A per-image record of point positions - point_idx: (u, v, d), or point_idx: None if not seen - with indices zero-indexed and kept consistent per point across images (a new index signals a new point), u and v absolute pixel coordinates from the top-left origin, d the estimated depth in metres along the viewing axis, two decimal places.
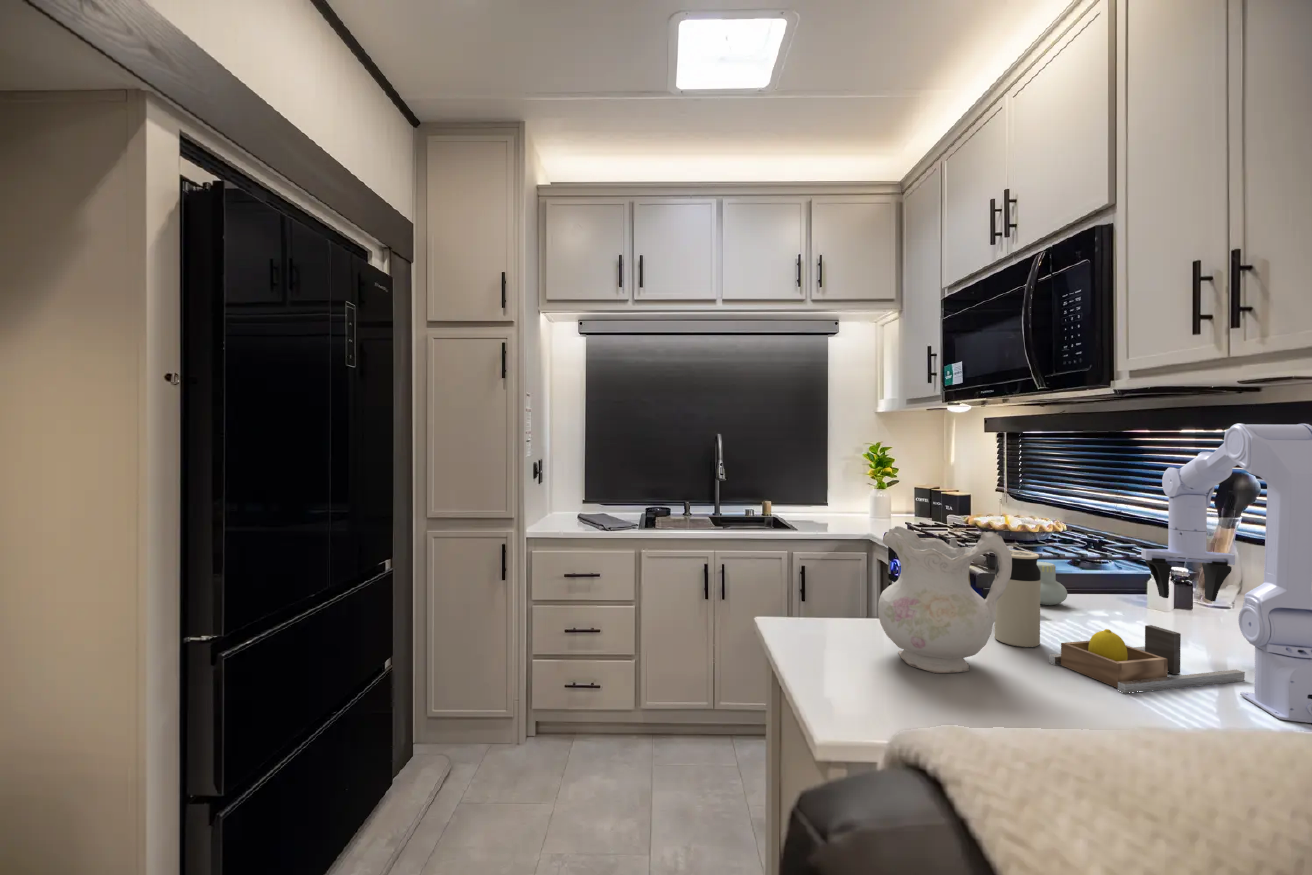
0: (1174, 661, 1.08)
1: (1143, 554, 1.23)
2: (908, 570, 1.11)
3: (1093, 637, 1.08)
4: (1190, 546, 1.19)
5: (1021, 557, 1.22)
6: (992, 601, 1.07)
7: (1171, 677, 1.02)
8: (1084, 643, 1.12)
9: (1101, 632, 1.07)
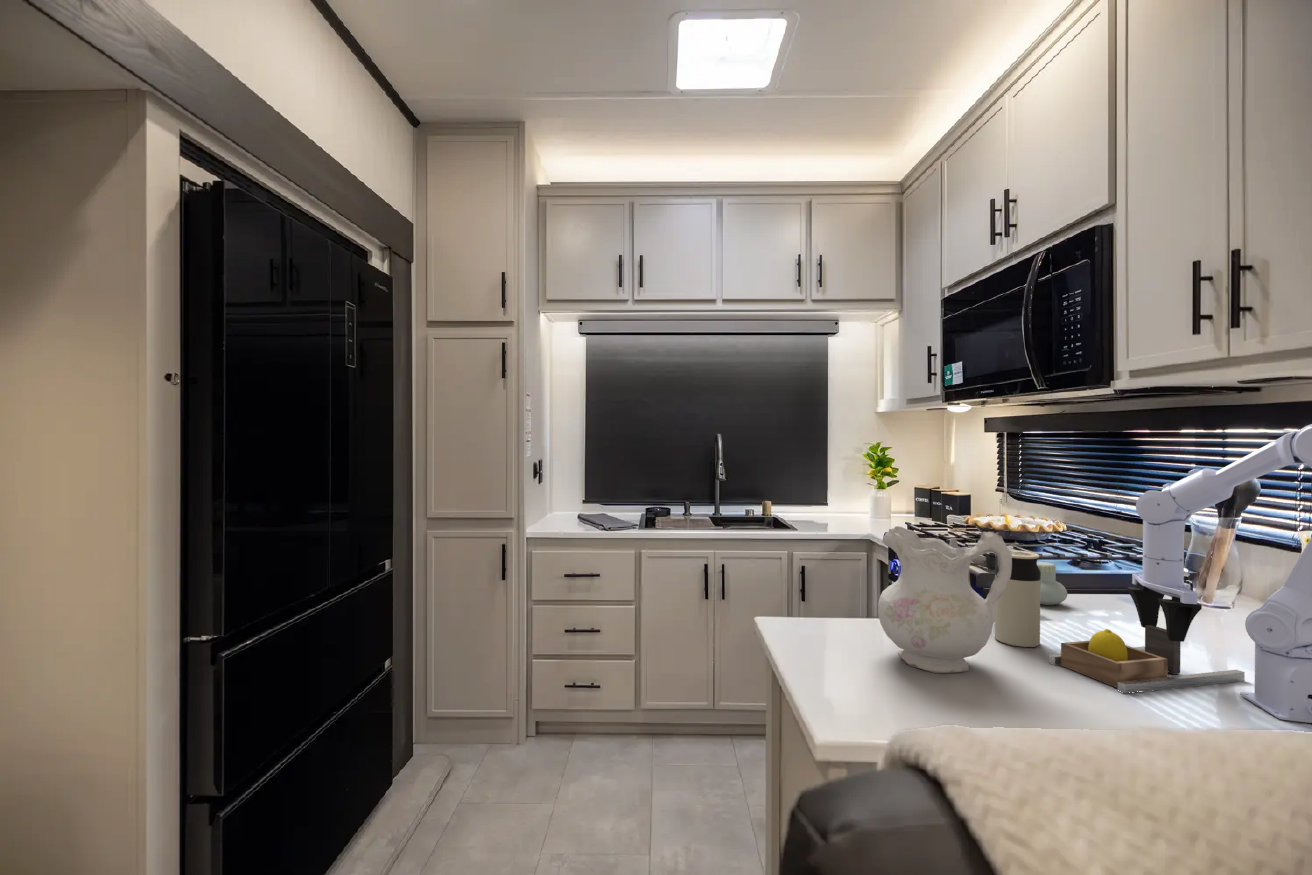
0: (1174, 661, 1.08)
1: None
2: (908, 570, 1.11)
3: (1093, 637, 1.08)
4: (1143, 572, 1.11)
5: (1021, 557, 1.22)
6: (992, 601, 1.07)
7: (1171, 677, 1.02)
8: (1084, 643, 1.12)
9: (1101, 632, 1.07)
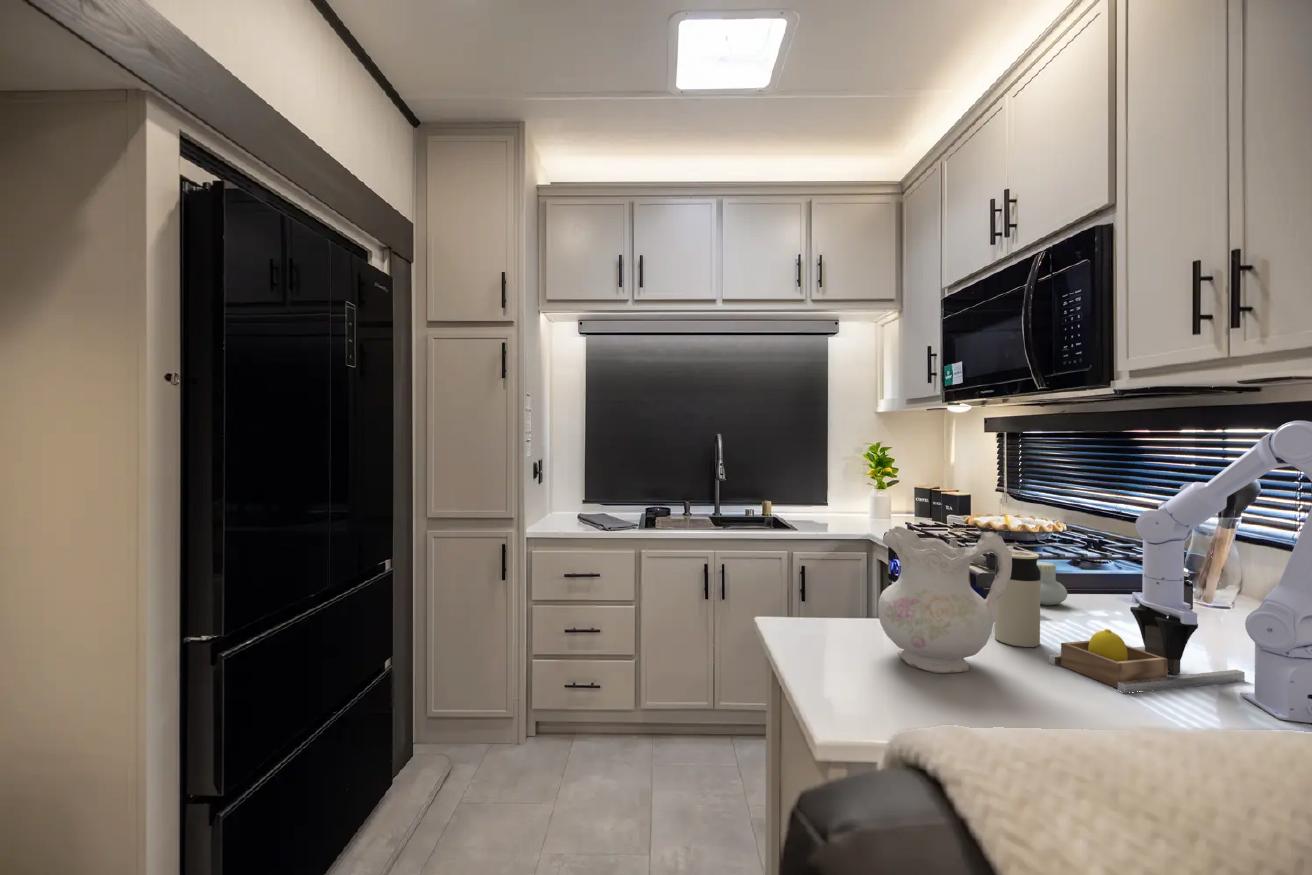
0: (1174, 661, 1.08)
1: None
2: (908, 570, 1.11)
3: (1093, 637, 1.08)
4: (1143, 592, 1.11)
5: (1021, 557, 1.22)
6: (992, 601, 1.07)
7: (1171, 677, 1.02)
8: (1084, 643, 1.12)
9: (1101, 632, 1.07)
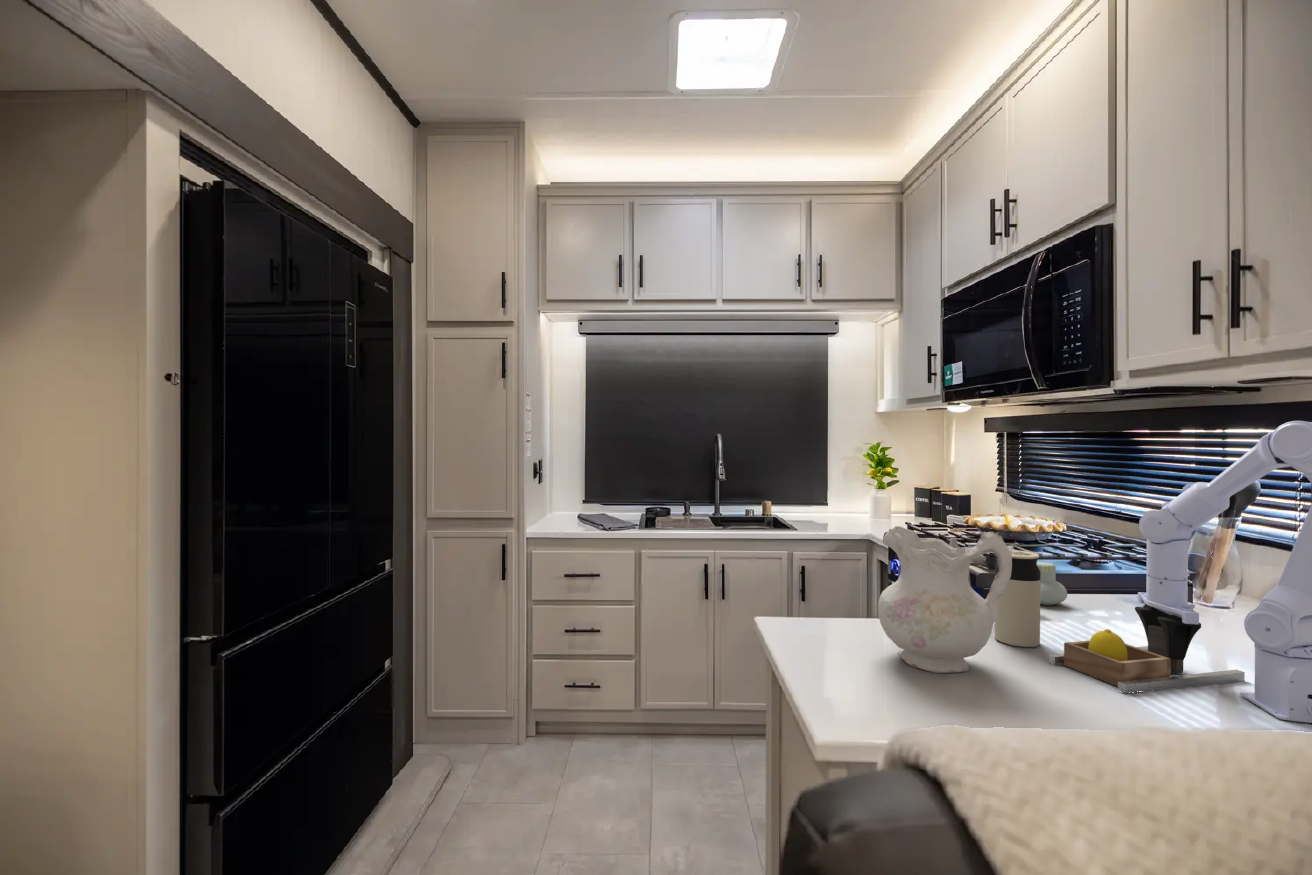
0: (1177, 661, 1.08)
1: None
2: (908, 570, 1.11)
3: (1093, 637, 1.08)
4: (1146, 591, 1.12)
5: (1021, 557, 1.22)
6: (992, 601, 1.07)
7: (1171, 677, 1.02)
8: (1087, 643, 1.12)
9: (1101, 632, 1.07)
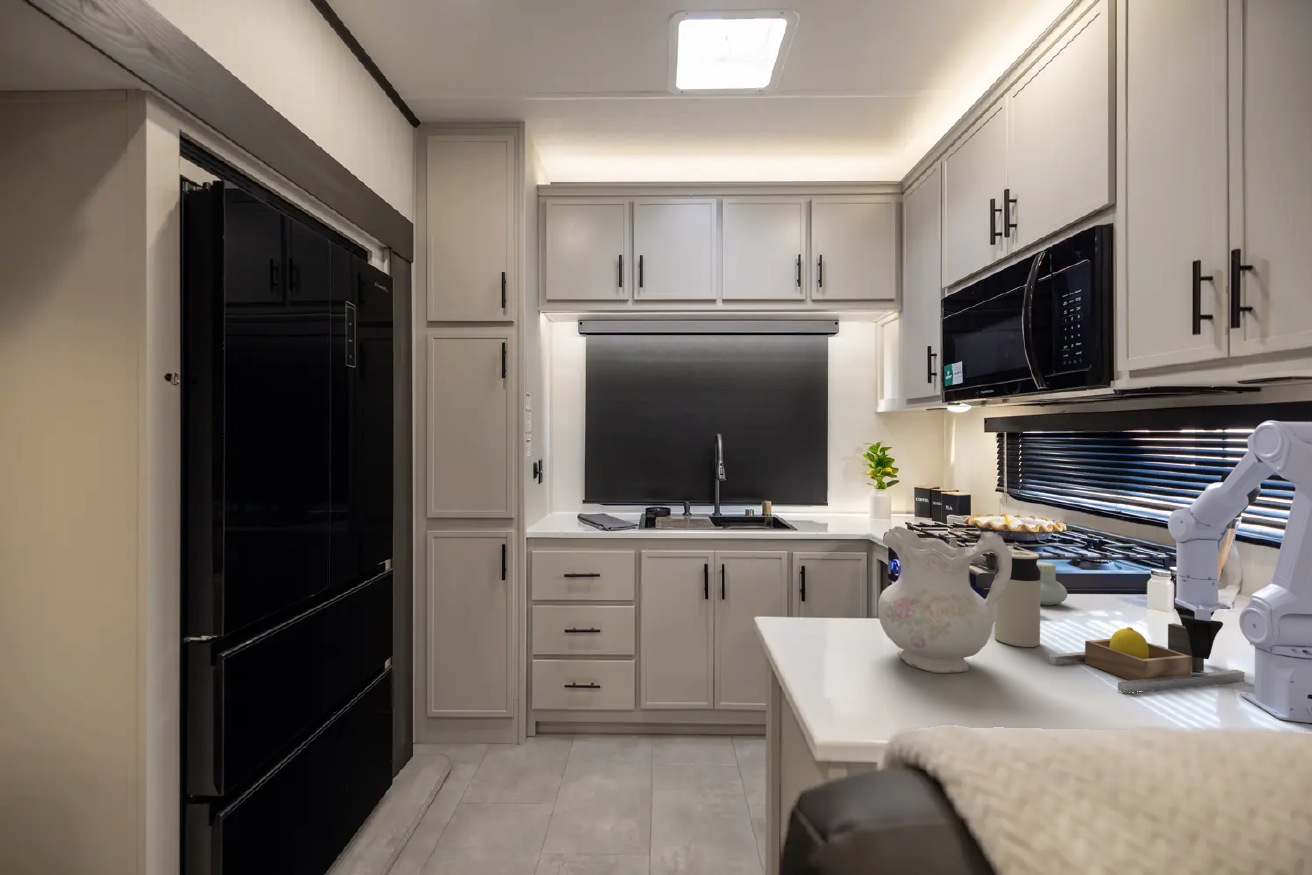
0: (1197, 659, 1.09)
1: None
2: (908, 570, 1.11)
3: (1115, 634, 1.09)
4: None
5: (1021, 557, 1.22)
6: (992, 601, 1.07)
7: (1171, 677, 1.02)
8: (1108, 641, 1.13)
9: (1123, 630, 1.09)
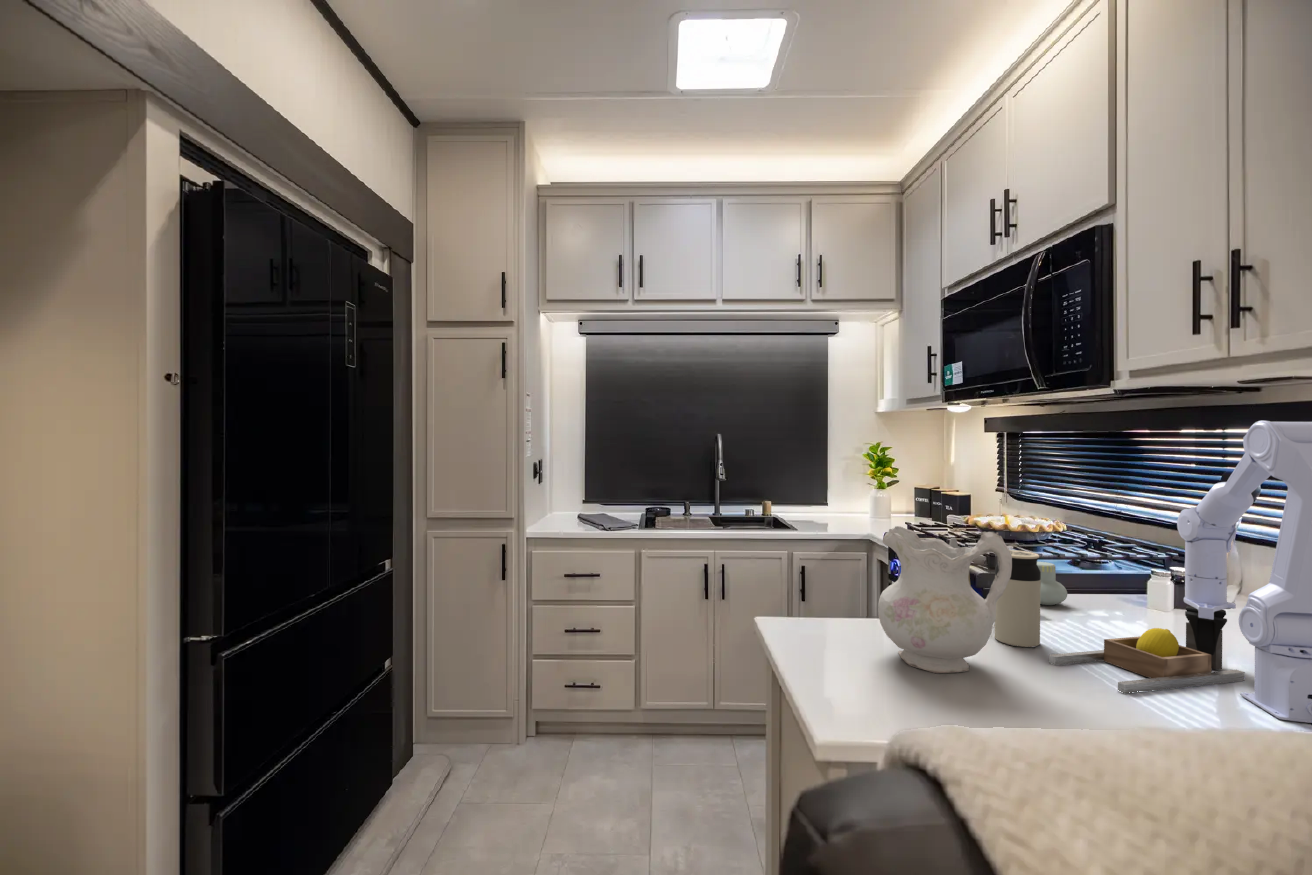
0: (1216, 657, 1.10)
1: None
2: (908, 570, 1.11)
3: None
4: None
5: (1021, 557, 1.22)
6: (992, 601, 1.07)
7: (1171, 677, 1.02)
8: (1126, 639, 1.14)
9: None
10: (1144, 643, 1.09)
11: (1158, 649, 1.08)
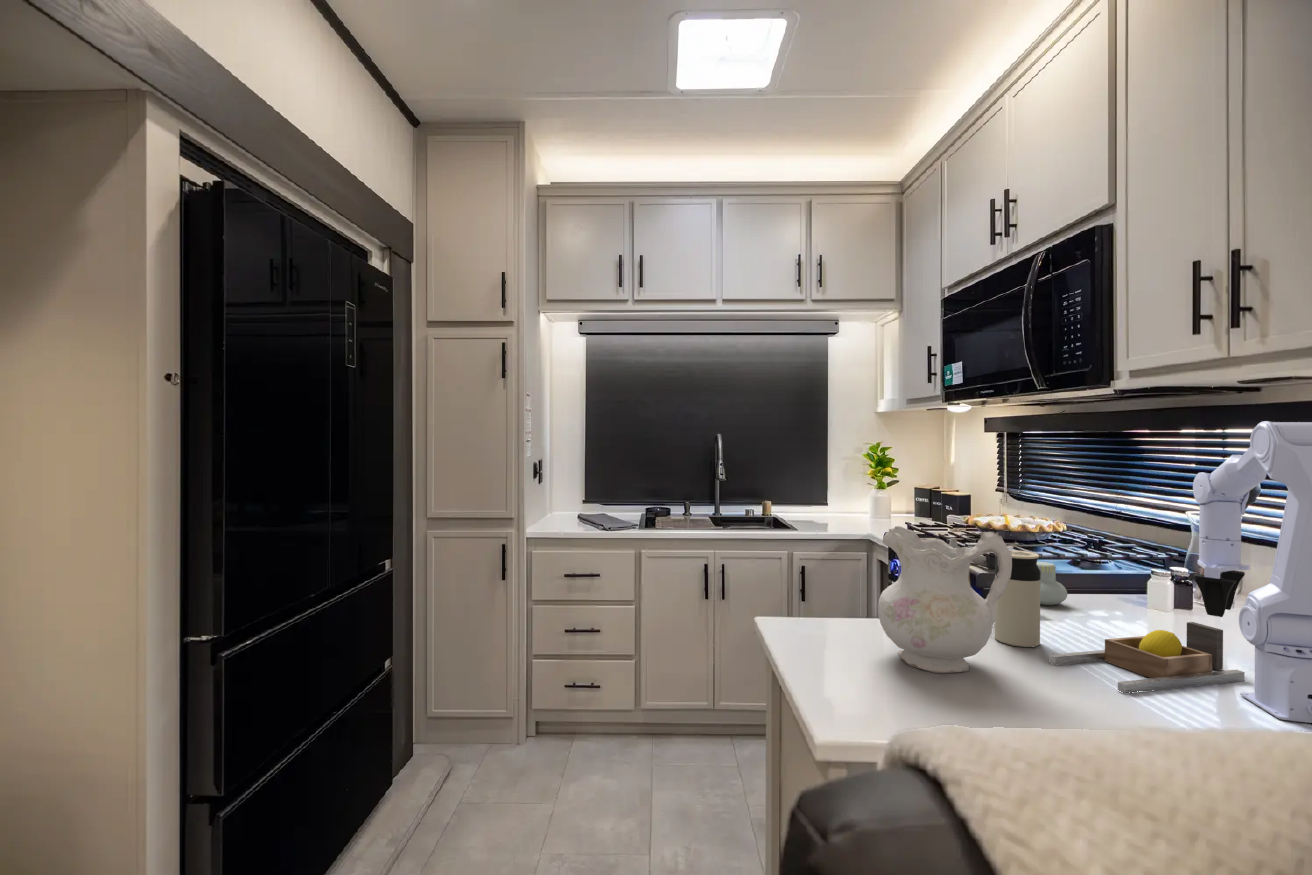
0: (1216, 657, 1.10)
1: None
2: (908, 570, 1.11)
3: (1156, 630, 1.11)
4: None
5: (1021, 557, 1.22)
6: (992, 601, 1.07)
7: (1171, 677, 1.02)
8: (1127, 639, 1.14)
9: None
10: (1148, 642, 1.10)
11: (1161, 648, 1.08)
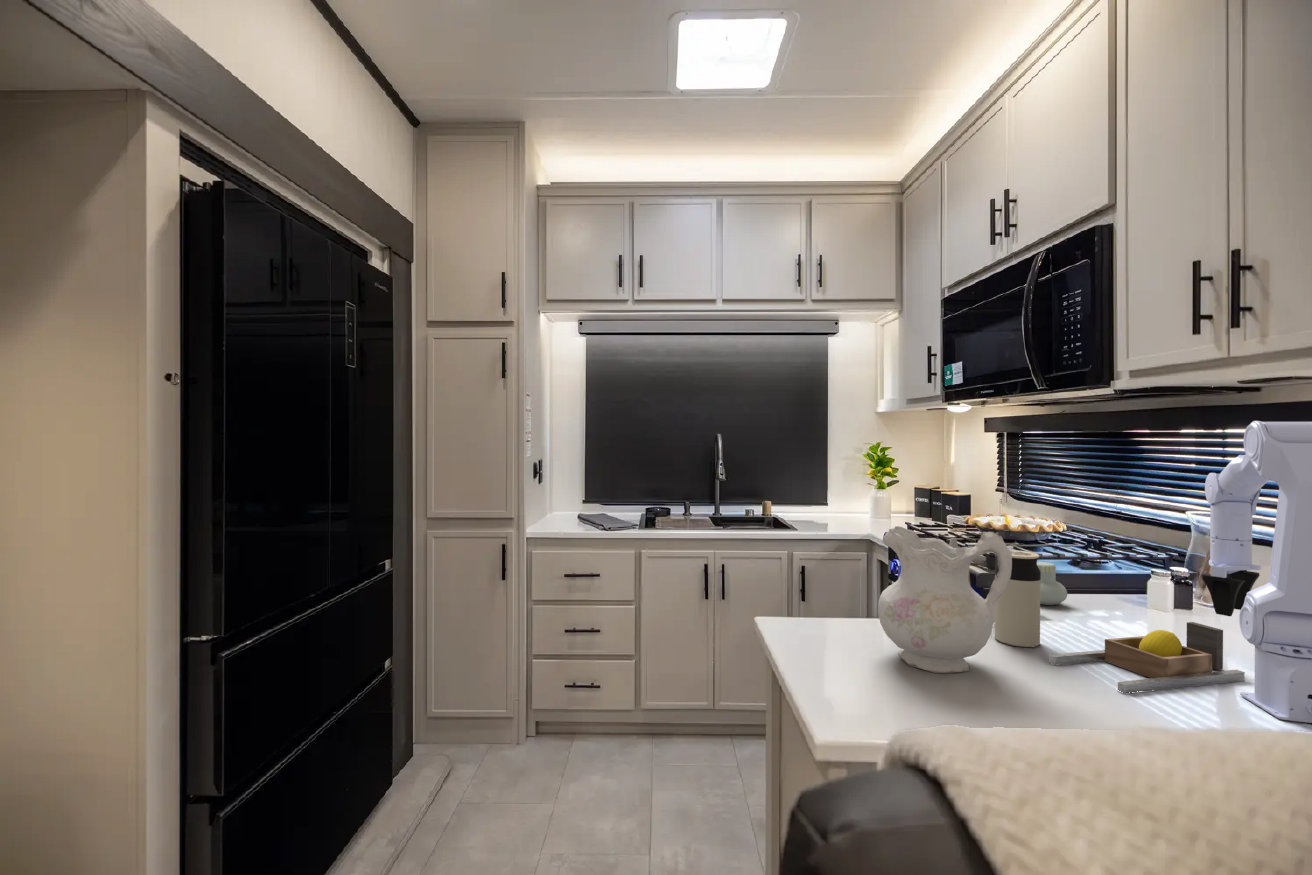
0: (1216, 657, 1.10)
1: None
2: (908, 570, 1.11)
3: (1156, 630, 1.11)
4: None
5: (1021, 557, 1.22)
6: (992, 601, 1.07)
7: (1171, 677, 1.02)
8: (1127, 639, 1.14)
9: None
10: (1148, 642, 1.10)
11: (1161, 648, 1.08)
